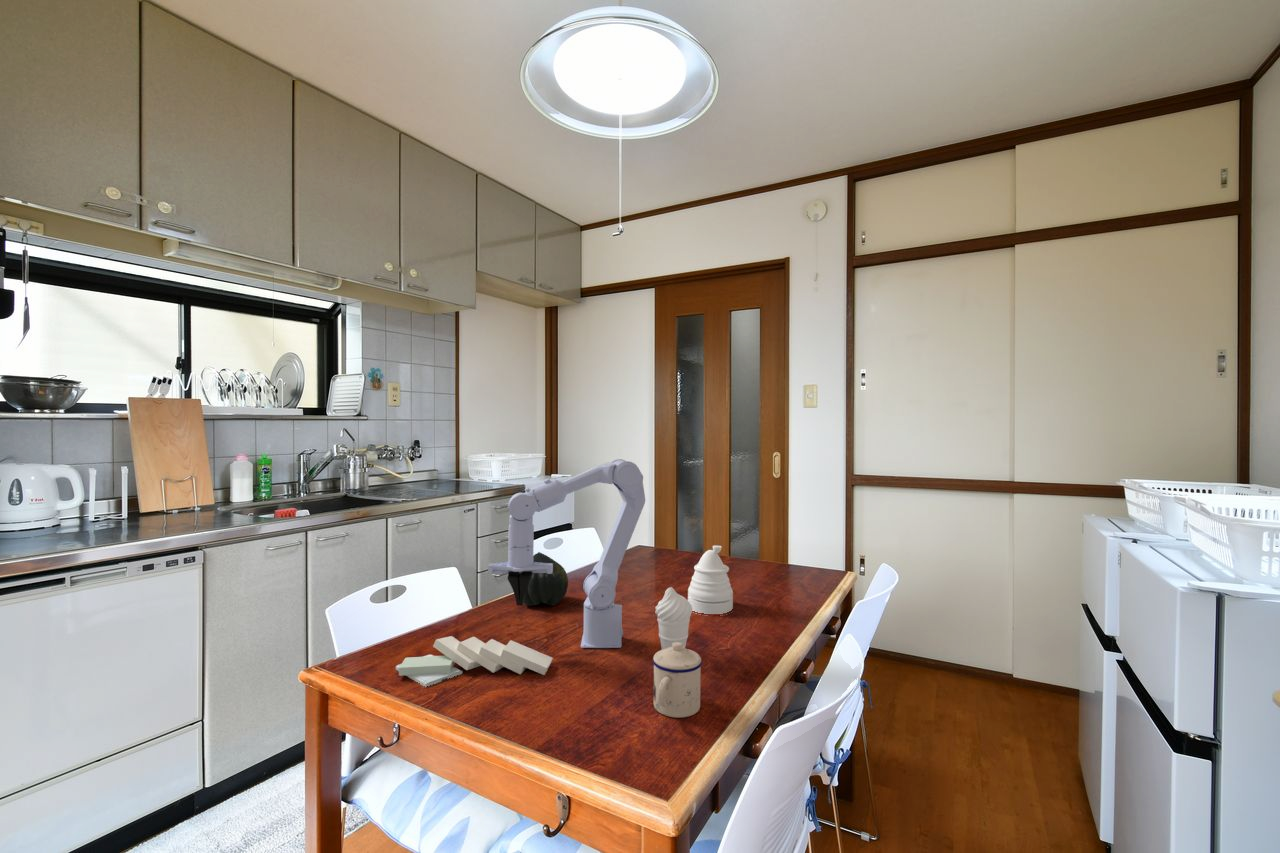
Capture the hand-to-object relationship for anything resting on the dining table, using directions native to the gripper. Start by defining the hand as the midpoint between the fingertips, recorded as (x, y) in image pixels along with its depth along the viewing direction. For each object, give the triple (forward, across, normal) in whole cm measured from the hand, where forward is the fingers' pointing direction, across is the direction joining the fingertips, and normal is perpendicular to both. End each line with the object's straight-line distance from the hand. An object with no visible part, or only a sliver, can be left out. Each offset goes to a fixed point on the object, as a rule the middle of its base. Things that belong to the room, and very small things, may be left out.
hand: (520, 604), depth 128 cm
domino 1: (+9, -12, -11) cm, 19 cm away
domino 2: (+9, -7, -11) cm, 16 cm away
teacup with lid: (+11, +33, -28) cm, 45 cm away
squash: (+11, 0, +34) cm, 36 cm away
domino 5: (+10, +8, -11) cm, 17 cm away
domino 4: (+10, +3, -11) cm, 15 cm away
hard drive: (+11, -17, -11) cm, 23 cm away
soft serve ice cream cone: (+11, +35, -6) cm, 37 cm away
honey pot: (+11, +49, +29) cm, 58 cm away
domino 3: (+9, -2, -11) cm, 15 cm away
